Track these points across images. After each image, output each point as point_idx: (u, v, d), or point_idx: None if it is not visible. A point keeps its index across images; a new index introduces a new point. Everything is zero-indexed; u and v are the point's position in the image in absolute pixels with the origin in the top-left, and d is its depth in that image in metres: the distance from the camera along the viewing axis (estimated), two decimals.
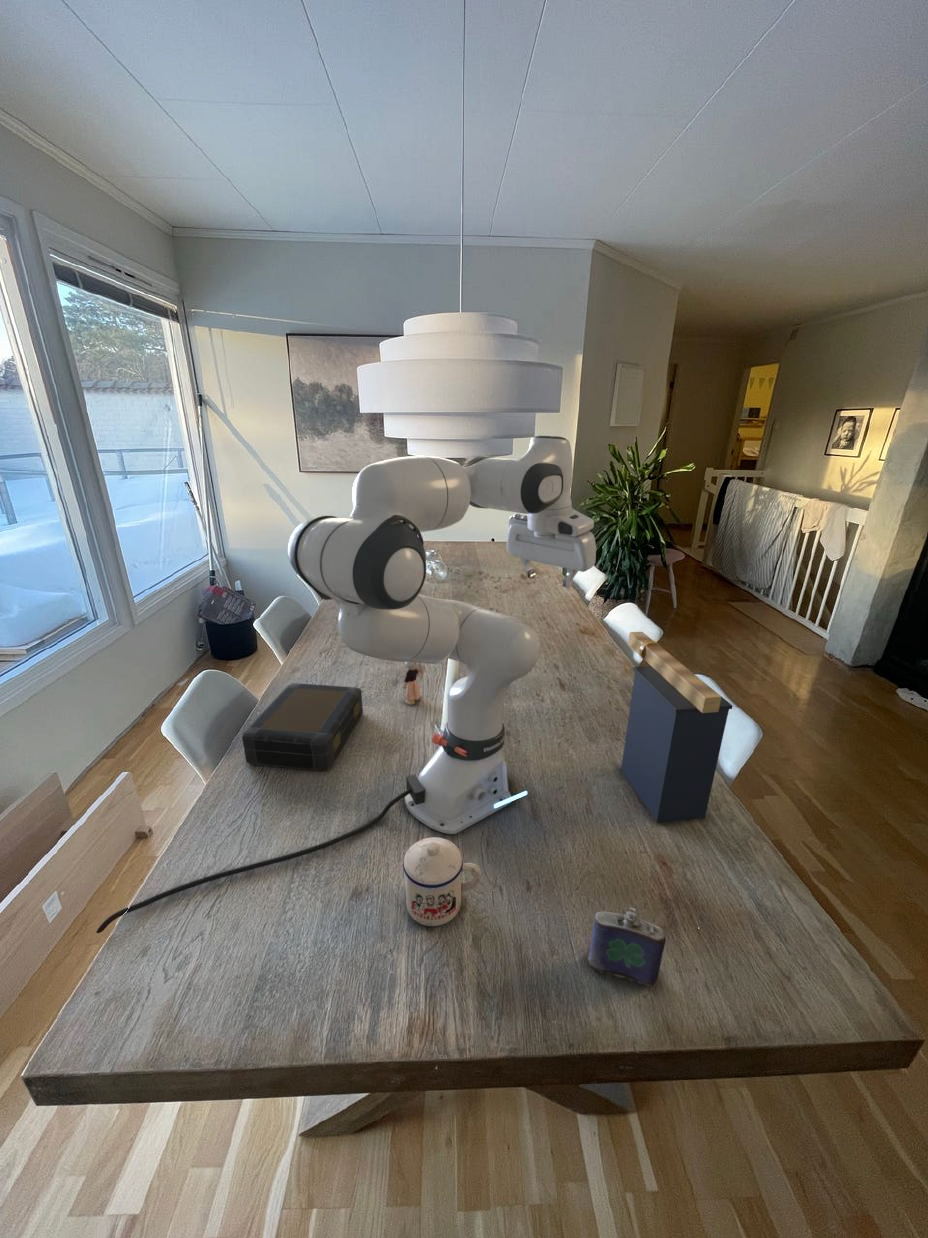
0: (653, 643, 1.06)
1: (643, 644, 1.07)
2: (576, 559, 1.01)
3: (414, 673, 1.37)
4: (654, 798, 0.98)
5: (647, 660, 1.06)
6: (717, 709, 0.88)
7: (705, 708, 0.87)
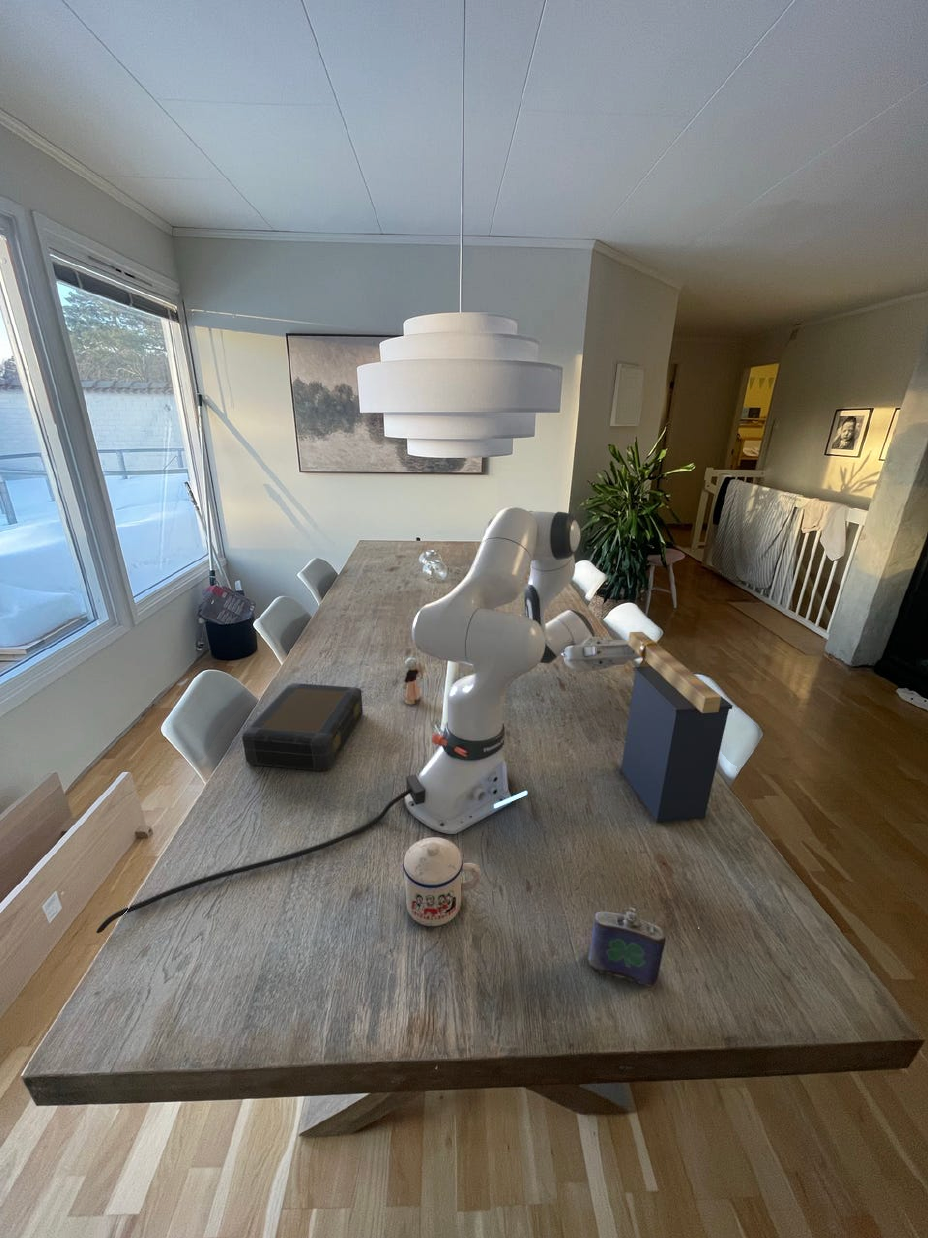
0: (653, 643, 1.06)
1: (643, 644, 1.07)
2: None
3: (414, 673, 1.37)
4: (654, 798, 0.98)
5: (647, 660, 1.06)
6: (717, 709, 0.88)
7: (705, 708, 0.87)
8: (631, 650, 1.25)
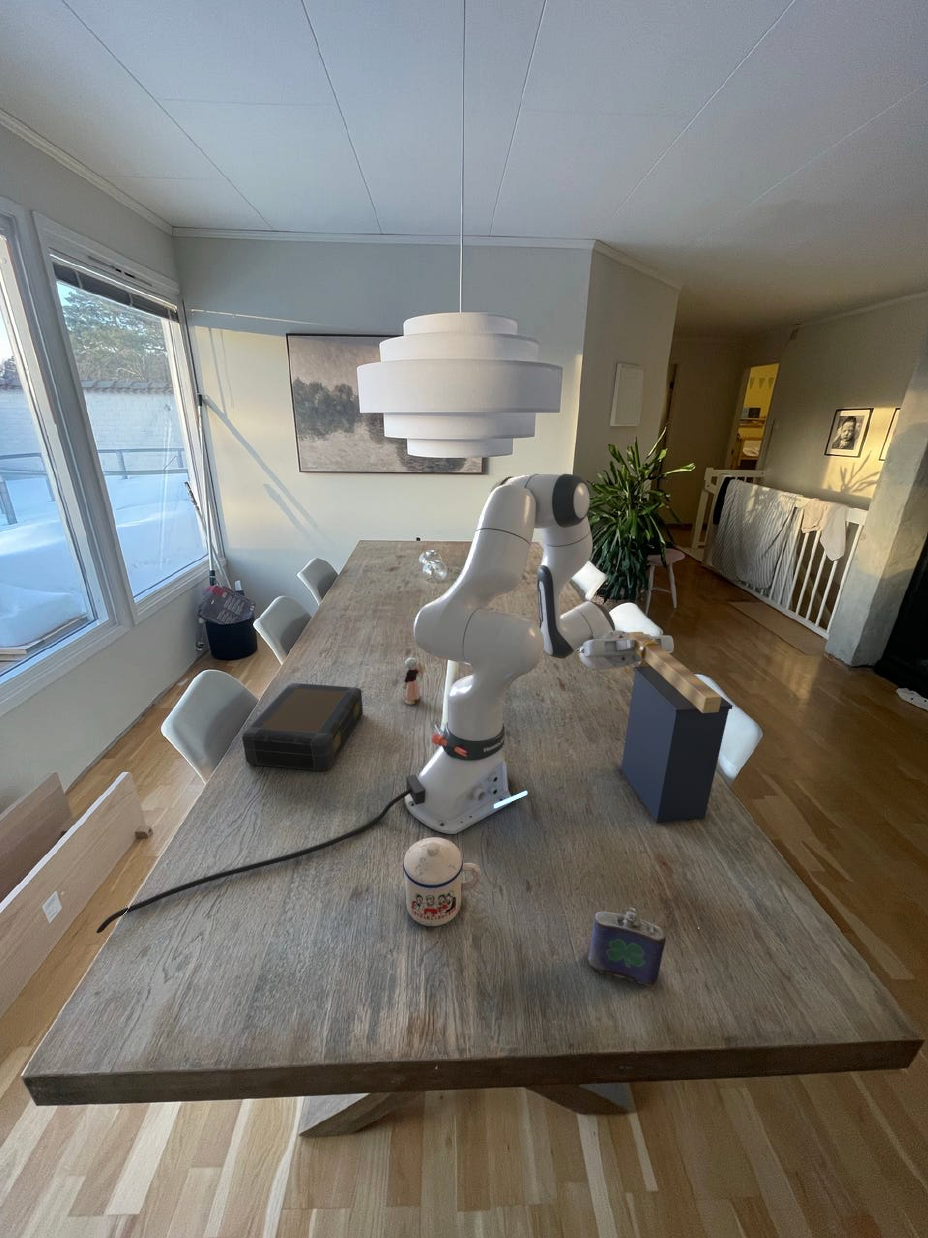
0: (653, 643, 1.06)
1: (643, 644, 1.07)
2: None
3: (414, 673, 1.37)
4: (654, 798, 0.98)
5: (647, 660, 1.06)
6: (717, 709, 0.88)
7: (705, 708, 0.87)
8: None
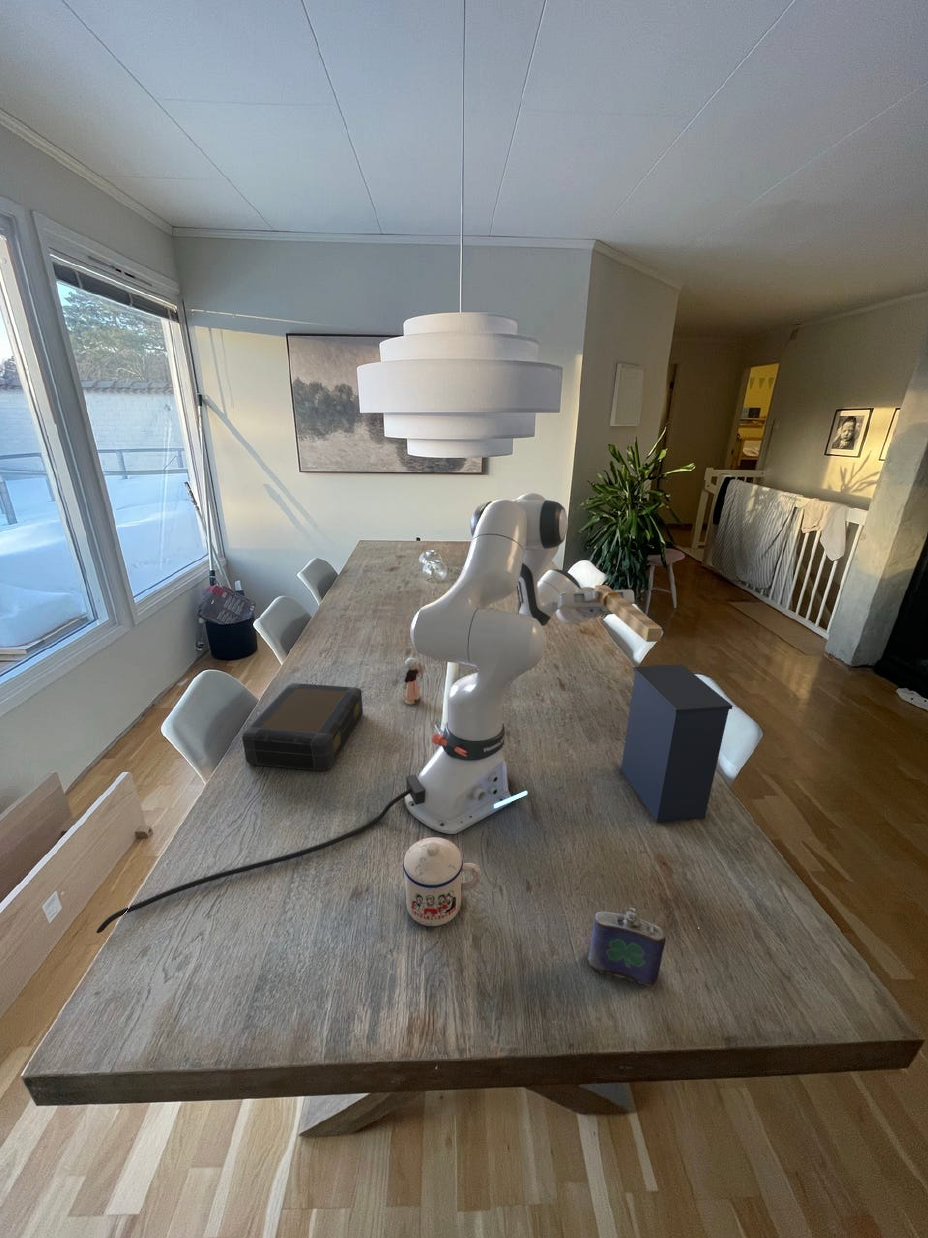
0: (613, 592, 1.24)
1: (605, 594, 1.25)
2: None
3: (414, 673, 1.37)
4: (654, 798, 0.98)
5: (608, 606, 1.24)
6: (659, 639, 1.06)
7: (649, 637, 1.05)
8: None
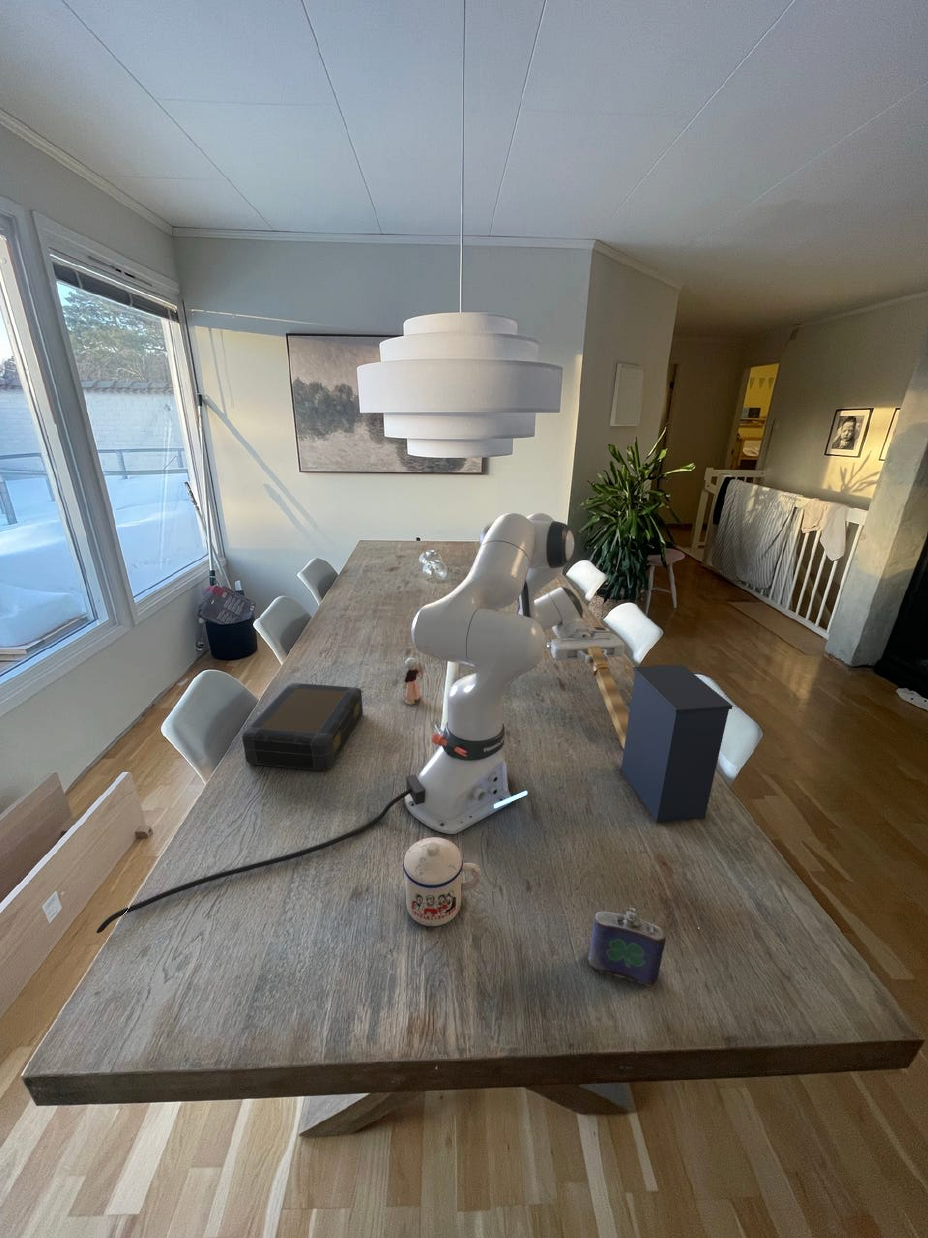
0: (604, 667, 1.32)
1: (596, 667, 1.33)
2: (614, 641, 1.43)
3: (414, 673, 1.37)
4: (654, 798, 0.98)
5: (597, 679, 1.33)
6: None
7: None
8: None
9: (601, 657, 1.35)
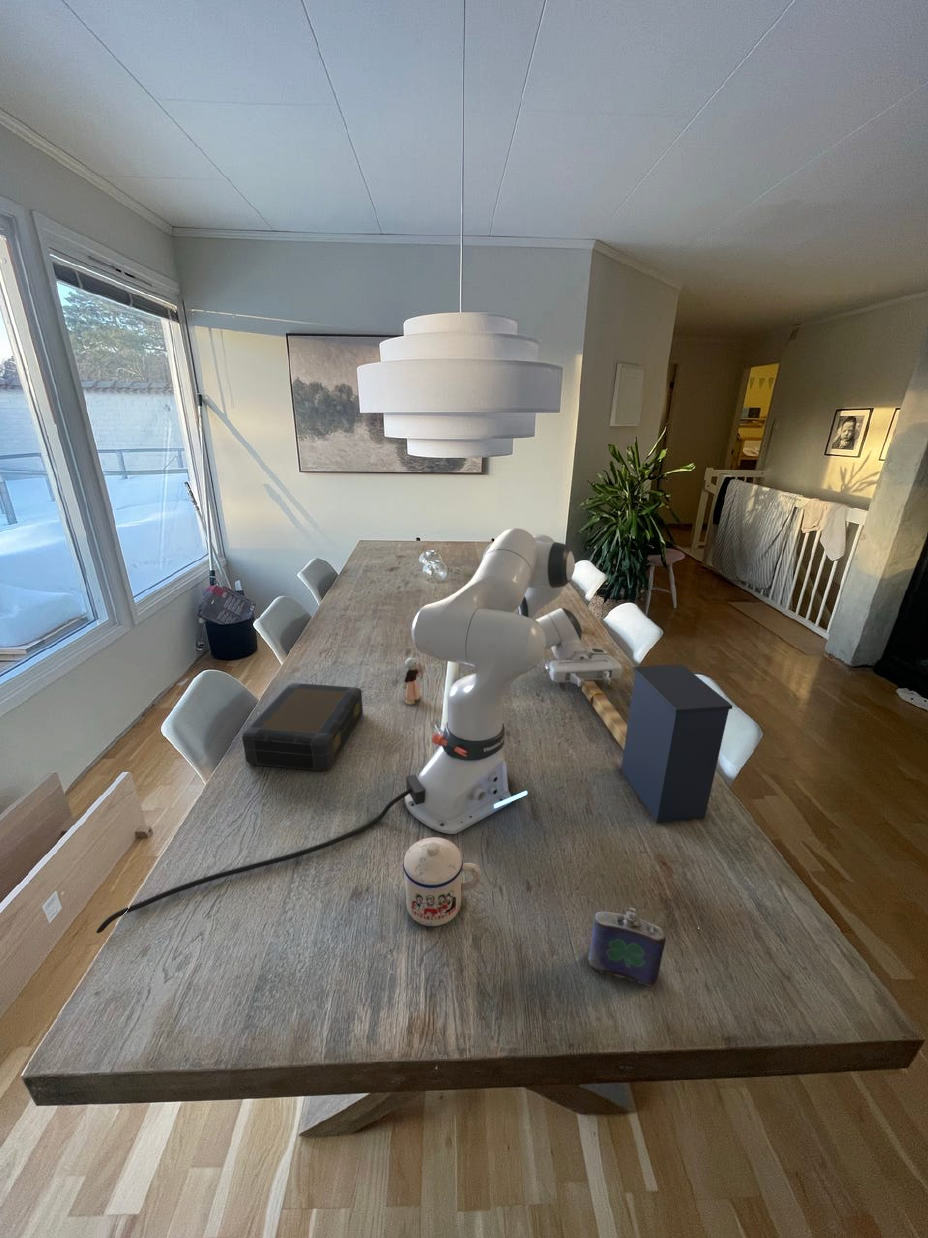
0: (599, 693, 1.36)
1: (592, 694, 1.36)
2: (612, 664, 1.45)
3: (414, 673, 1.37)
4: (654, 798, 0.98)
5: (594, 706, 1.35)
6: None
7: None
8: (604, 683, 1.39)
9: (596, 687, 1.39)
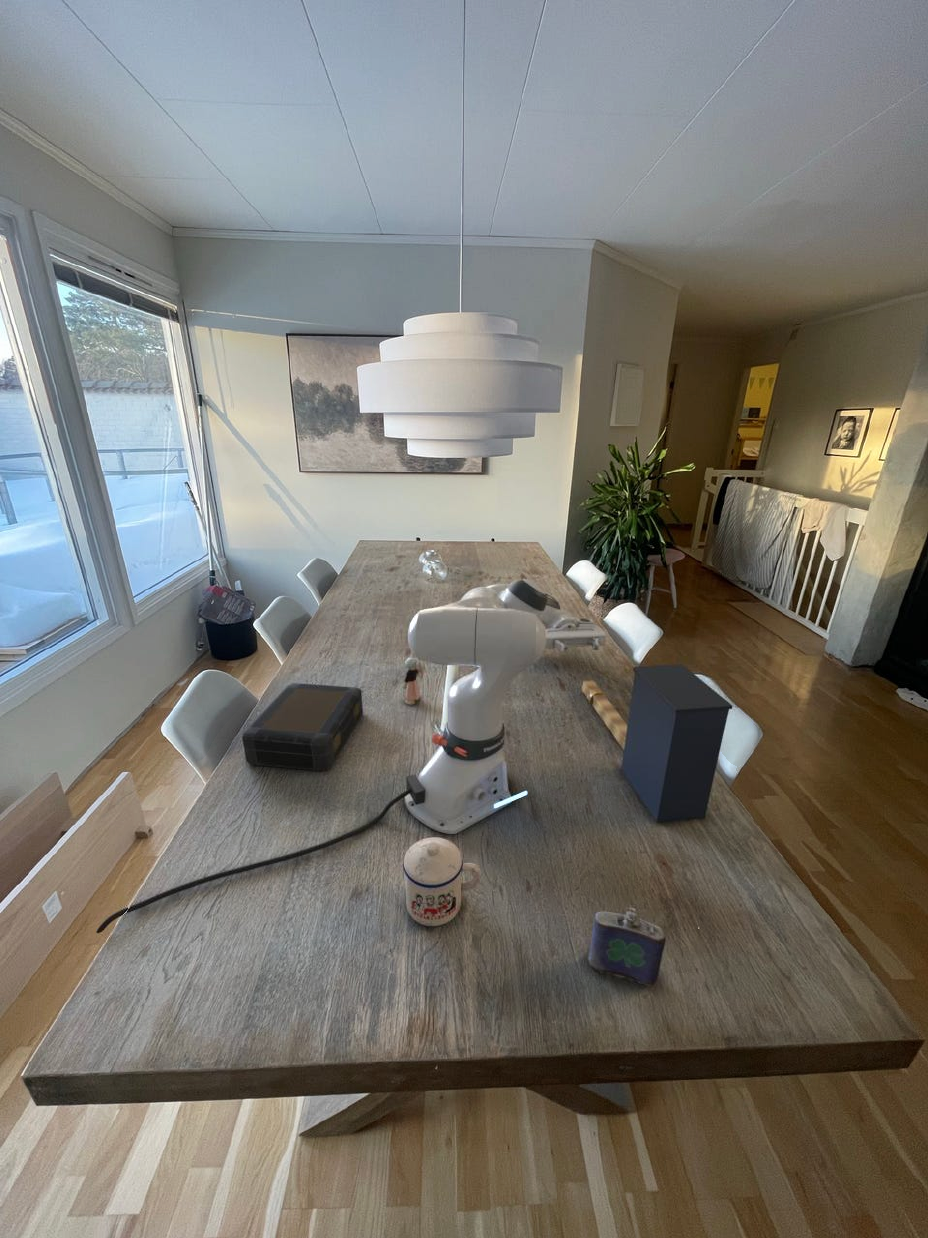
0: (599, 693, 1.36)
1: (592, 694, 1.36)
2: (597, 632, 1.54)
3: (414, 673, 1.37)
4: (654, 798, 0.98)
5: (594, 706, 1.35)
6: None
7: None
8: (593, 648, 1.48)
9: (596, 687, 1.39)
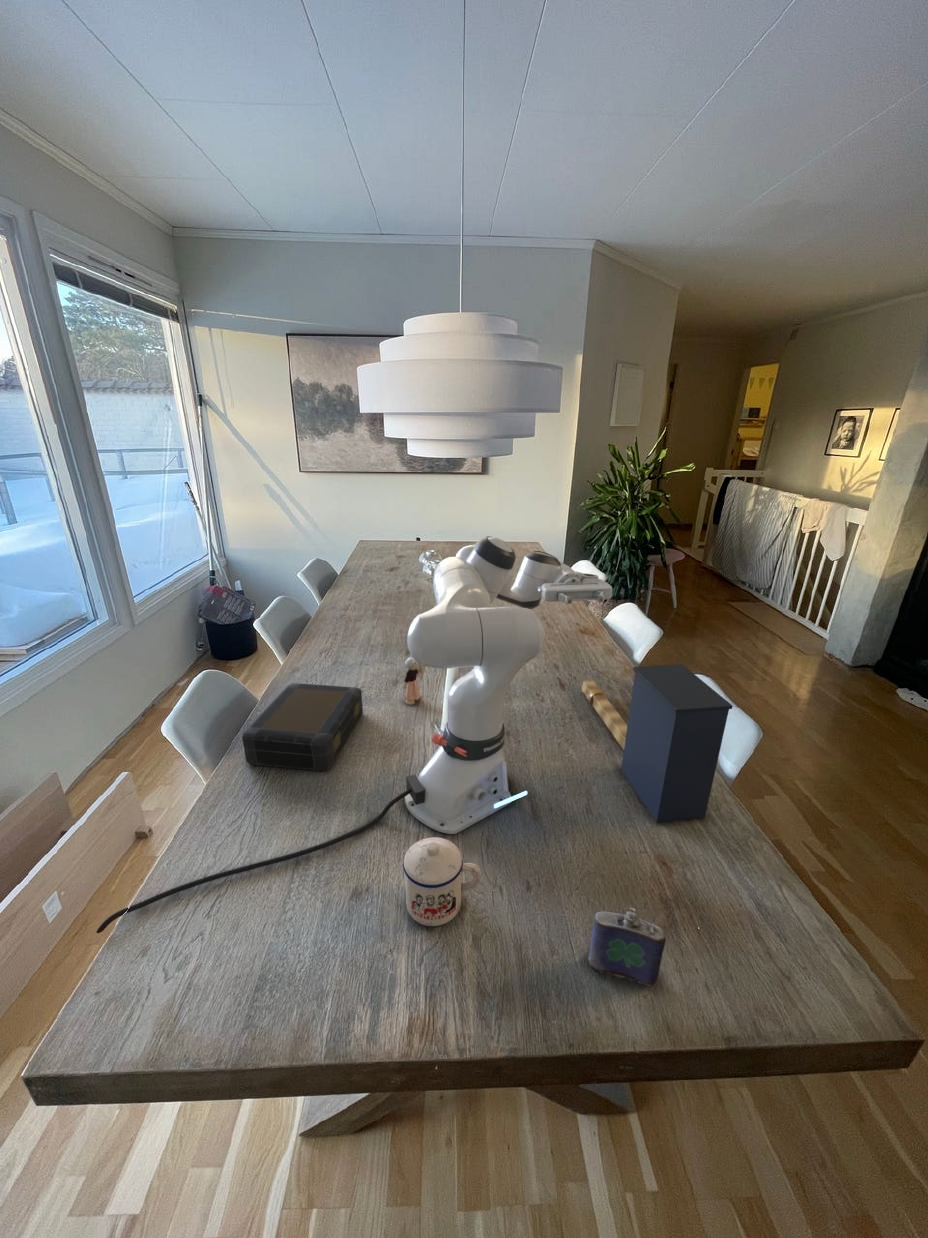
0: (599, 693, 1.36)
1: (592, 694, 1.36)
2: (602, 585, 1.49)
3: (414, 673, 1.37)
4: (654, 798, 0.98)
5: (594, 706, 1.35)
6: None
7: None
8: (598, 600, 1.43)
9: (596, 687, 1.39)
